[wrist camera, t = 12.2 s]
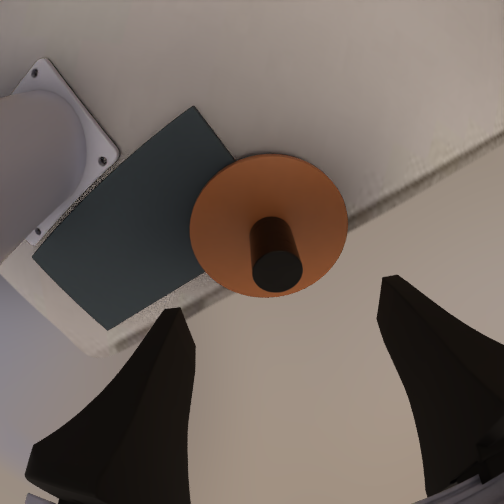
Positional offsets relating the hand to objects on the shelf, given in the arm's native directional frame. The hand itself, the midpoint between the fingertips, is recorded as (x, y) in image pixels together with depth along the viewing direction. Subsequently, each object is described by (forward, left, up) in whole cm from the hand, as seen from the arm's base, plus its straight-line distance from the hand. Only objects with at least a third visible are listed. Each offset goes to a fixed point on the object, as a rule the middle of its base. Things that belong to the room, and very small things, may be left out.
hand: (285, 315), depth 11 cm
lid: (0, 0, -7) cm, 7 cm away
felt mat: (-7, +3, -8) cm, 11 cm away
